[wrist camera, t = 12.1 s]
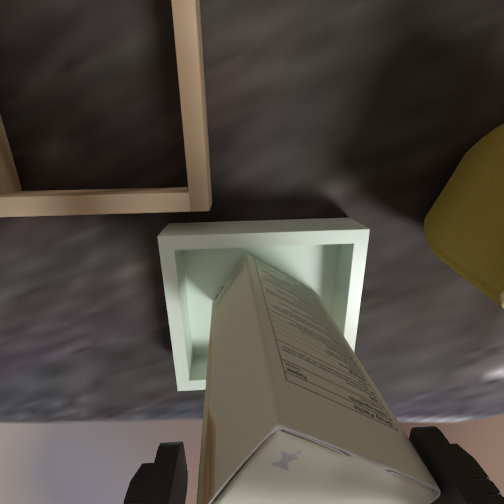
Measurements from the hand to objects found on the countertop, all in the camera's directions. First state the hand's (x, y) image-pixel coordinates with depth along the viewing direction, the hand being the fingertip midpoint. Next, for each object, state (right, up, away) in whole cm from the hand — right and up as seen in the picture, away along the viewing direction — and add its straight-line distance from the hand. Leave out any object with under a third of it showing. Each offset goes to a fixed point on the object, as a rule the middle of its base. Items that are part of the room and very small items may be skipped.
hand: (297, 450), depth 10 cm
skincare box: (-1, +4, +10) cm, 10 cm away
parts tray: (-1, +4, +10) cm, 11 cm away
